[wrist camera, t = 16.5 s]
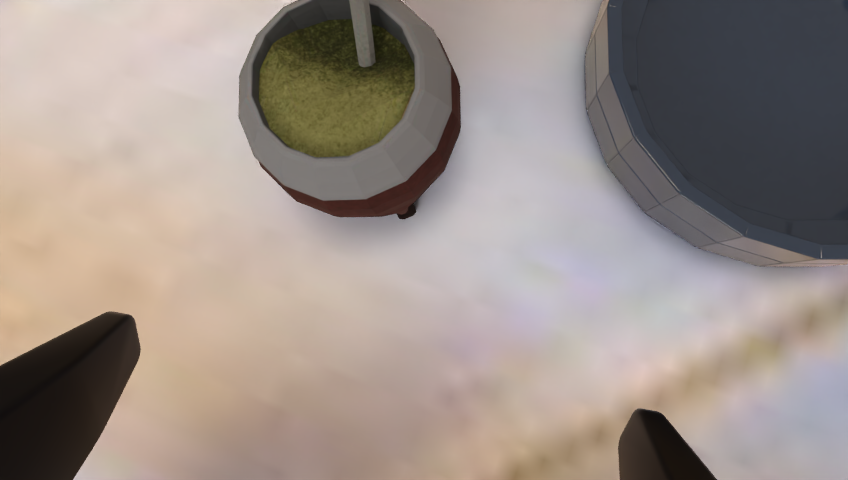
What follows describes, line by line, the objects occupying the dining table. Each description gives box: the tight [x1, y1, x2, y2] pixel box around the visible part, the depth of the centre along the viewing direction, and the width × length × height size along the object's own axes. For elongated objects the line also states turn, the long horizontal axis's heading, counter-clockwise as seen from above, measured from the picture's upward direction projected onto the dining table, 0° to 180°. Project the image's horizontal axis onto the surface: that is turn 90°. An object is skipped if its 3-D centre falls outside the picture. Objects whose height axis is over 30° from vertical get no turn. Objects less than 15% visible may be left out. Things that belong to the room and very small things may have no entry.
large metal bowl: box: [585, 0, 848, 267], centre depth 20 cm, size 15×15×4 cm
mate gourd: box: [239, 0, 461, 219], centre depth 16 cm, size 8×8×15 cm
